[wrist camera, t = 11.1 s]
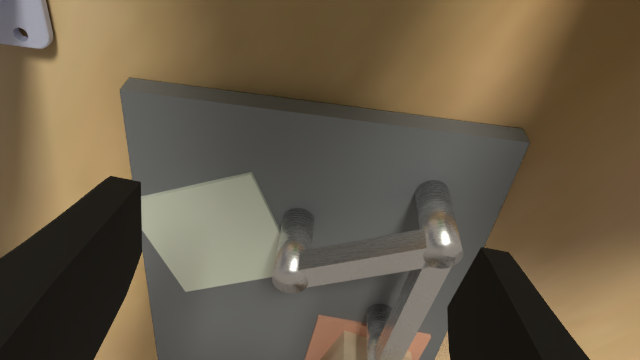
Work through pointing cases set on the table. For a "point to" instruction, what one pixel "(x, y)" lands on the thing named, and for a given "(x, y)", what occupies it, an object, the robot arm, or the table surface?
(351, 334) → the birch block
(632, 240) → the table surface
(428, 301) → the bent wire
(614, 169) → the table surface
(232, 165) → the board
